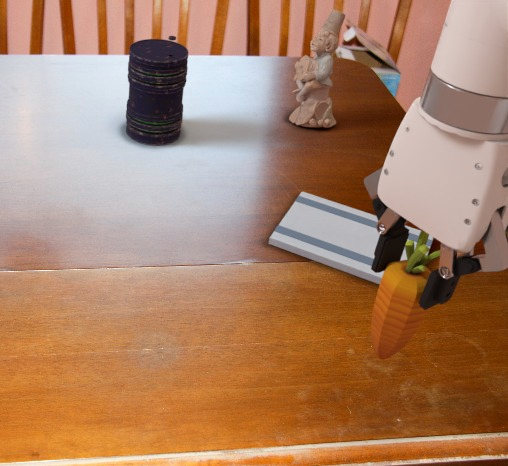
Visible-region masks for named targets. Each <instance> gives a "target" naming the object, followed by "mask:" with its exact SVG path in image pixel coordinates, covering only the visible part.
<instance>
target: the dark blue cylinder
mask: <svg viewBox="0 0 508 466" xmlns="http://www.w3.org/2000/svg"><path fill="white" fill-rule="evenodd" d="M176 40H177V36H175V35H169V36H168V39H161V38H147V39H140V40H137V41H135V42H133V43H131V44H130V46H129V48H128V49H129V51H128V54H129V56H128V63H127V72H128V73H127V81H128V84H129V85H128V99H127V100H126V110H125V122H126V123H125V124H126V126H125V133H126V135H127V137H128V138H129V139H131V140H133V141H134V142H135V143H139V144H142V145H147V146H166V145H169V144H172V143H175V142H177V140H179V138H180V137H181V134H182V133H181V128H182V123H183V118H184V114H183V113H184V104H183V99H184V88H185V86H186V83H187V75H188V70H189V69H188V59H189V49H188V48H187V47H186V46H184V45H183V44H181V43H179V42H177V41H176Z"/></svg>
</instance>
